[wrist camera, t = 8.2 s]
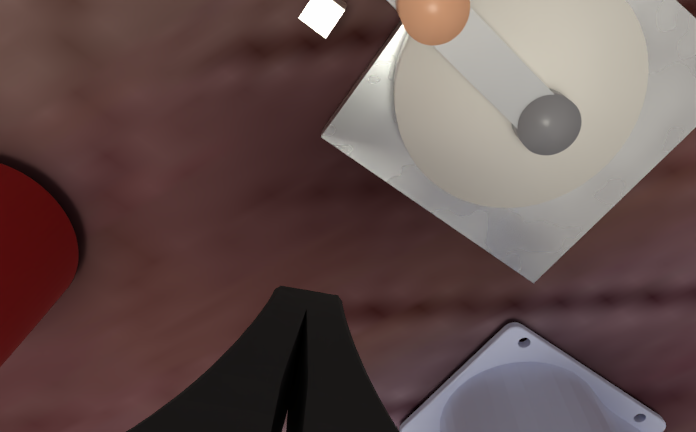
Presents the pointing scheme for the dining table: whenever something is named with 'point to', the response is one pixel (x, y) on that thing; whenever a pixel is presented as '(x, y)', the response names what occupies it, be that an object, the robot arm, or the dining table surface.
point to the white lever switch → (517, 93)
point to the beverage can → (30, 256)
